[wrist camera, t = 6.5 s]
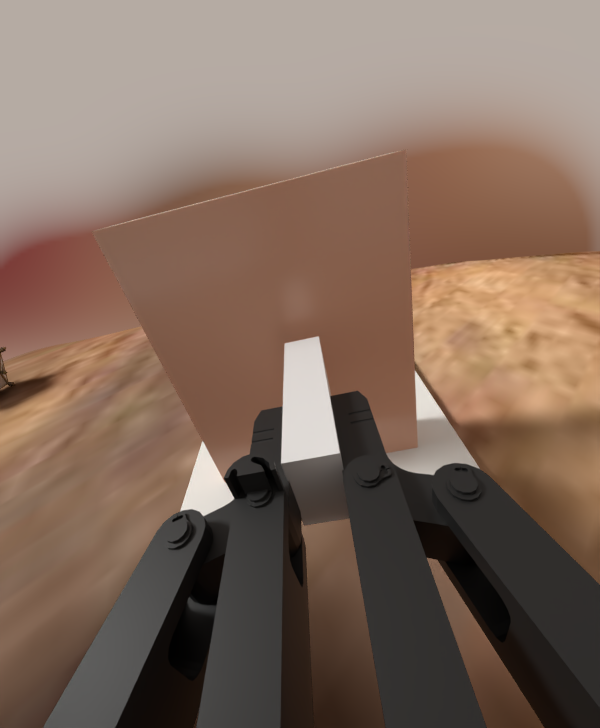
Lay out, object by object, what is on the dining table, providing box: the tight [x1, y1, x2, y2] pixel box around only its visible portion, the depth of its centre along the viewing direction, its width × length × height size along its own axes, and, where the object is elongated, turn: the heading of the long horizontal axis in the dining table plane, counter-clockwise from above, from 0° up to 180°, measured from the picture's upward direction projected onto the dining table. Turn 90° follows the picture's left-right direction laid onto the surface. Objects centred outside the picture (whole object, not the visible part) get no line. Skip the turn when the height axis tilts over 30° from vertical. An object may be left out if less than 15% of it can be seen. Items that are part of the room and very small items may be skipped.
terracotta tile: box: [92, 150, 418, 483], centre depth 16 cm, size 12×2×15 cm, turn 93°
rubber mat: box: [181, 371, 480, 516], centre depth 26 cm, size 21×17×1 cm
